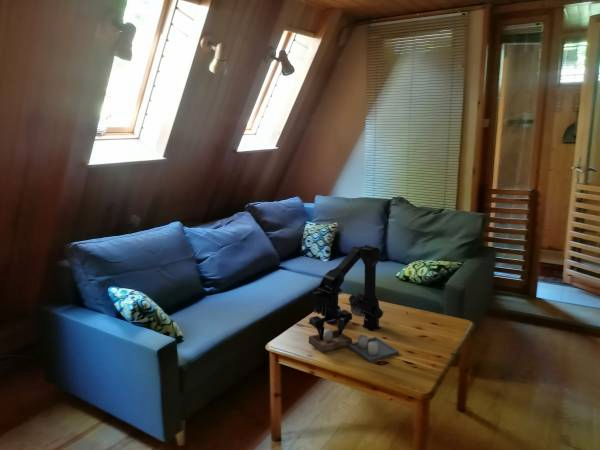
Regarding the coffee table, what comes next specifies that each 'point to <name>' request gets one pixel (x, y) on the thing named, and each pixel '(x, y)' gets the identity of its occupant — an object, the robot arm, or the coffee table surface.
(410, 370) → the coffee table surface
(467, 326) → the coffee table surface
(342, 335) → the walnut box
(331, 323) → the potion bottle
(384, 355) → the slate tray
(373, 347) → the stone
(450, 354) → the coffee table surface
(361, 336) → the stone
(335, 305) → the robot arm
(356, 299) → the crystal cluster
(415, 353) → the coffee table surface
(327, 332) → the stone
